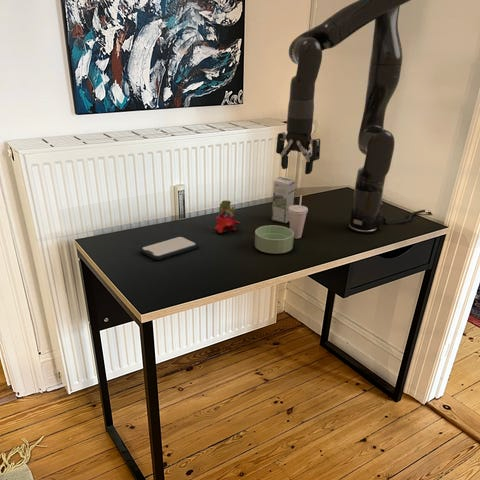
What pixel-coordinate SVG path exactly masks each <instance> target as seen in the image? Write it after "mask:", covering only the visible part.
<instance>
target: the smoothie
mask: <svg viewBox="0 0 480 480" xmlns="http://www.w3.org/2000/svg"><path fill="white" fill-rule="evenodd" d="M302 199H303V195H302V194H300V195H299V204H293V205H292V206H290V207H289V208H288V211H289V229H291V230H292V231H293V232H294V239H296V240H297V239H301V238H302V235H303V231H304V226H305V223H306V217H307V214H308V212H309V208H308V207H307V206H306V205H302Z"/></svg>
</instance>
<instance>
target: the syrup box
mask: <svg viewBox="0 0 480 480" xmlns="http://www.w3.org/2000/svg"><path fill="white" fill-rule="evenodd" d="M272 190H273V191H272V209H271V221H274V222H278V223H283V224H287V223H290V221H289V211H288V208H289V207H290V206H292V205H294V200H295V191H296V178H295V179H294V178H289V177H284V176H280V177H279V176H278V177H277V178H275V179H274V180H273V189H272Z"/></svg>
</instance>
